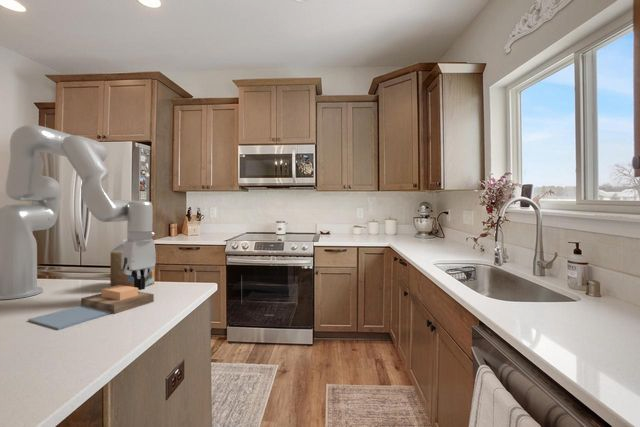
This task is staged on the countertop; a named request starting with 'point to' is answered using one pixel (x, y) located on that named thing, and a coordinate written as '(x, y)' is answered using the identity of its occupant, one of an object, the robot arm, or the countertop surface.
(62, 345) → the countertop surface
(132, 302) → the stand
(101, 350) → the countertop surface
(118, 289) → the tile
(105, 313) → the mat
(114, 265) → the milk carton
